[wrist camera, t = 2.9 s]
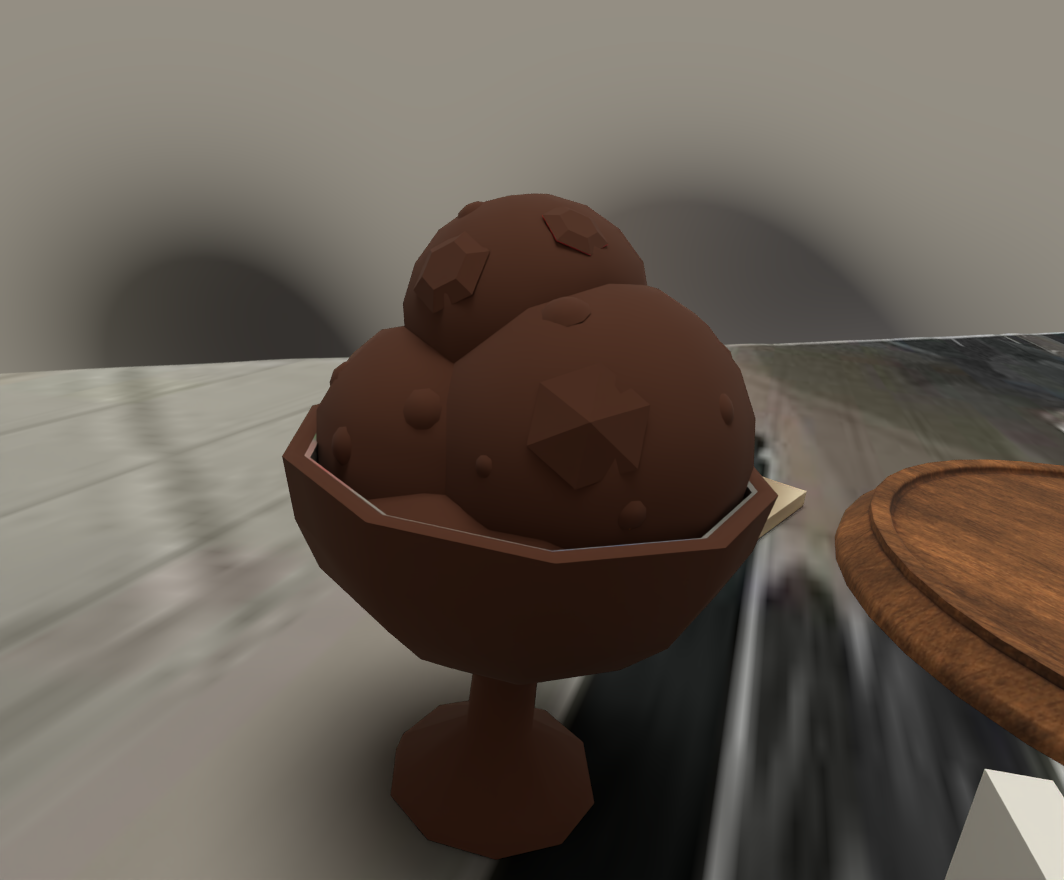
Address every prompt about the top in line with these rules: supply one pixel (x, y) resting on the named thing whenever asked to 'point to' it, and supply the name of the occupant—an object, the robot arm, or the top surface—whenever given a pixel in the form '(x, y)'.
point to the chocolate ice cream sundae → (527, 497)
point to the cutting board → (970, 583)
